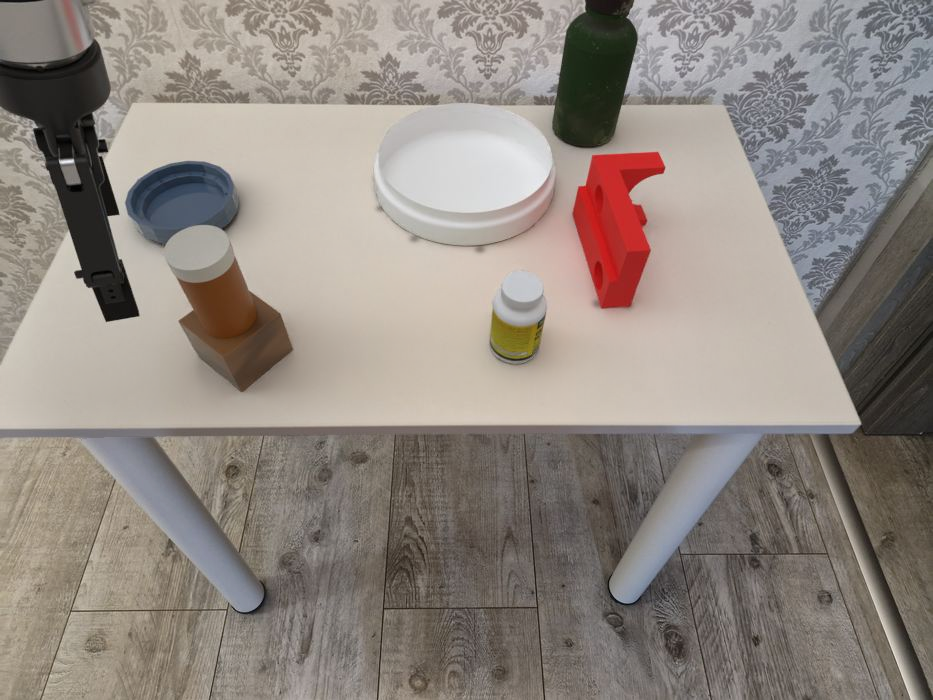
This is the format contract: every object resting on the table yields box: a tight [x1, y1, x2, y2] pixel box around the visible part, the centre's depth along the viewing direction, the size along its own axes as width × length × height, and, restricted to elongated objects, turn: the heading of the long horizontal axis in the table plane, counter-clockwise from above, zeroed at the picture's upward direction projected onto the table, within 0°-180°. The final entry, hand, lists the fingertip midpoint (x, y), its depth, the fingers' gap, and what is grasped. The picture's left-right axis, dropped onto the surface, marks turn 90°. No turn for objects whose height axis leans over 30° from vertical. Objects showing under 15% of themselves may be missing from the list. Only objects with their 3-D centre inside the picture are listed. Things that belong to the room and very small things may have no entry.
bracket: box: [572, 151, 667, 309], centre depth 81 cm, size 18×10×10 cm
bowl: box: [124, 160, 240, 245], centre depth 87 cm, size 14×15×4 cm
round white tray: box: [373, 102, 557, 247], centre depth 92 cm, size 27×27×6 cm
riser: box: [177, 290, 294, 393], centre depth 72 cm, size 8×8×7 cm
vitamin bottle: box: [163, 225, 257, 338], centre depth 64 cm, size 6×6×11 cm
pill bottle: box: [489, 270, 548, 365], centre depth 72 cm, size 6×6×11 cm
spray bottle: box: [551, 0, 639, 147], centre depth 92 cm, size 10×10×25 cm
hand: (112, 262), depth 58 cm, fingers open, 13 cm apart
